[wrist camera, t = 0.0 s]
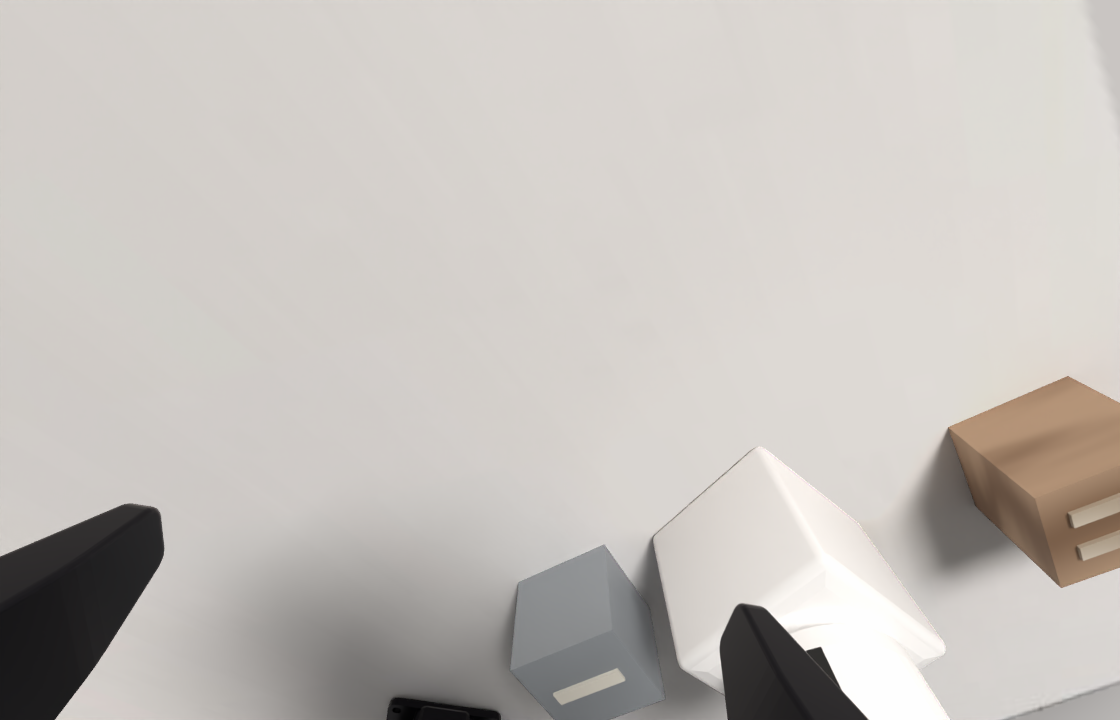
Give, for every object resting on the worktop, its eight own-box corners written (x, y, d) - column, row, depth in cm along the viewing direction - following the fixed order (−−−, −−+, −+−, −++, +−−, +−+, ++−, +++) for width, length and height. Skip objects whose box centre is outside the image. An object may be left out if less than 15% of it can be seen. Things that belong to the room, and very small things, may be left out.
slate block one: (649, 607, 29) (666, 702, 24) (567, 640, 30) (568, 738, 25) (604, 543, 27) (612, 632, 23) (518, 581, 28) (509, 674, 24)
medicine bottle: (748, 604, 29) (861, 906, 18) (648, 536, 27) (705, 825, 16) (859, 521, 26) (1067, 808, 15) (757, 440, 25) (911, 700, 14)
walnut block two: (1086, 461, 25) (1207, 541, 20) (974, 505, 26) (1064, 590, 21) (1066, 375, 23) (1192, 441, 19) (946, 426, 24) (1038, 501, 20)
